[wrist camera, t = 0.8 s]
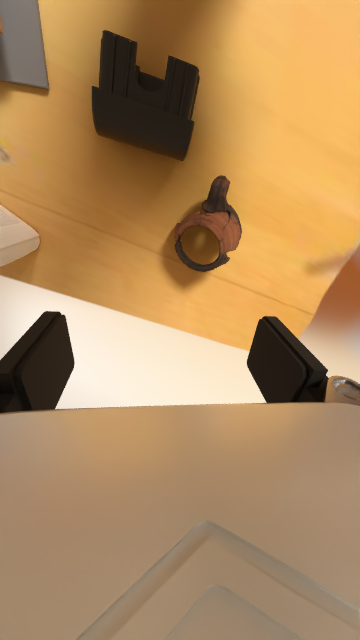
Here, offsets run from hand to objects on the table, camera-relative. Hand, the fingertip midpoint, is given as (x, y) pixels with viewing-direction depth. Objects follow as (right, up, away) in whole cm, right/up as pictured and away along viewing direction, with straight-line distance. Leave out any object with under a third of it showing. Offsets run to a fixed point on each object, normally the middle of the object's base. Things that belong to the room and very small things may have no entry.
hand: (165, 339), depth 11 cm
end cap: (-3, +26, +16) cm, 31 cm away
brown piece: (+5, +16, +23) cm, 28 cm away
